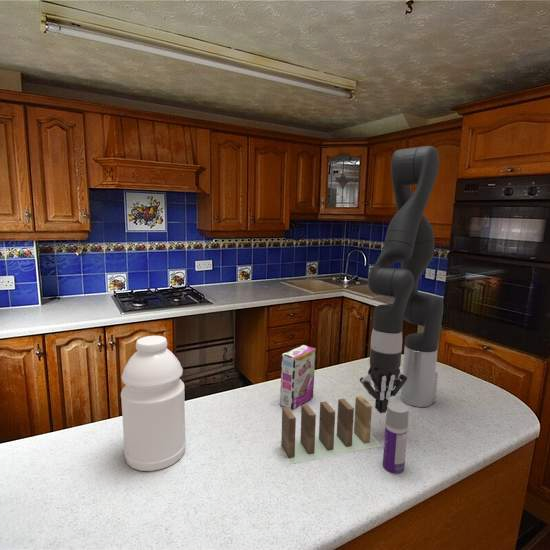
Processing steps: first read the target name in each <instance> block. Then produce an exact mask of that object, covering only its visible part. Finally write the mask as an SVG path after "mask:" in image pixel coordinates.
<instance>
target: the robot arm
mask: <svg viewBox="0 0 550 550" xmlns="http://www.w3.org/2000/svg"><path fill="white" fill-rule="evenodd" d="M439 168H440V156H439V152H438V149H437V148H436V147H435V146H432V145H425V146H424V145H423V146H417V147H409V148H402V149H400V148H399V149H397V150H395V151H394V152H393V153H392V156H391V161H390V173H391V183H392V188H393V195H394V199H395V207H396V213H395V214H394V216H393V217H392V219H391V221H390V222H389V225H388V227H387V230H386V234H385V238H384V242H383V243H384V244H383V247H382V250H381V251H380V254H379V256H378V258H377V260H376V262H375V263H374V265H373V267H372V268H371V270H370V273H369V275H368V277H367V278H368V279H367V285H368V289H369V290H370V292H371V293H372V294H374V295H378V296H384V297H390V298H391V297H392V298H394V301H393V302H392V303H388V304H386V303H385V304H378V305H377V306H375V307H374V311H373V318H372V319H373V320H372V331H371V334H370V335H371V336H370V350H369V368H368V371H367V375H366V376H365V377H360V378H359V382H360V383H361V385H362V386H363V388H365V390H366V391H367V393H368V394H369V395H370V396H371V397H372V398H373V399H375V403H374V407H375V410H376V411H377V412H378V413H379V414H384V413H385V414H387V405H388V404H389V400H390V398H391V397H395V396H396V395H397V394H398V393H399V392H400V400H402V401H403V402H404V403H406V404H408V405H410V406H413V407H416V408H417V407H419V408H427V407H430V406H432V405H433V403H436V398H437V388H438V387H437V385H438V377H439V375H438V372H437V371H436V368H437V357H438V356H437V355H438V349H439V348H438V347H439V341H440V336H441V328H442V322H443V316H444V302H443V299H441V298H440V297H439V296H435V295H429V294H422V293H419V290H418V287H419V280H420V279H421V276H422V274H423V273H424V272H425V270H426V269H427V268H428V266H429V265H430V263H431V262H432V260H433V258H434V256H435V255H434V254H435V233H434V229H433V227H432V224H431V223H430V221H429V219H428V218H426V216H425V215H424V211H425V209H426V207H427V205H428V201H429V198H430V197H431V194H432V191H433V188H434V185H435V183H436V180H437V176H438V174H439ZM411 185H412V186H413V185H416V186H415V188H414V190H413V192H412V189H411ZM397 263H400V268H398V267H392V266H393V265H395V264H397ZM404 321H405V322H406V323H409V324H414V325H417V326H422V327H424V329H423V331H422V332H415V333H410V334H407V335H406V336H405V338H404V339H405V340H404V352H403V326H404ZM402 352H403V364H401V363H402ZM401 365H402V373H401V369H400V367H401ZM372 384H373V386H372Z"/></svg>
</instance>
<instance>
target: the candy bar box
mask: <svg viewBox="0 0 550 550" xmlns="http://www.w3.org/2000/svg"><path fill="white" fill-rule="evenodd" d="M316 351H317V350H316V347H311V346H308V345H305V344H302V345H300V346H298V347H296V348H293V349H291V350H288V351H286V352H284V353H282V354H281V368H280V369H281V371H280V372H281V373H280V393H279V394H280V396H279V398H280V399H279V400H280V401H279V402H280V403H279V406H280V407H282V408H285V407H289V409H290V410H291V411H294V410H296V409H298V407H301V405H304V404H306V403H307V402H308V401H310V400H311V399H313V398H314V385H315V384H314V383H315V366H316V365H315V364H316Z"/></svg>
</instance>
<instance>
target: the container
mask: <svg viewBox="0 0 550 550" xmlns="http://www.w3.org/2000/svg"><path fill="white" fill-rule="evenodd" d="M408 426H409V407H408V406H407V405H406V404H404V403H402V402H397V401H394V402H388V405H387V410H386V417H385V426H384V438H383V453H382V454H383V455H382V468H383V469H384V470H385V472H387V473H389V474H392V475H401V474H403V473H404V471H405V462H406V451H407V450H406V449H407V439H408Z"/></svg>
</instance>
